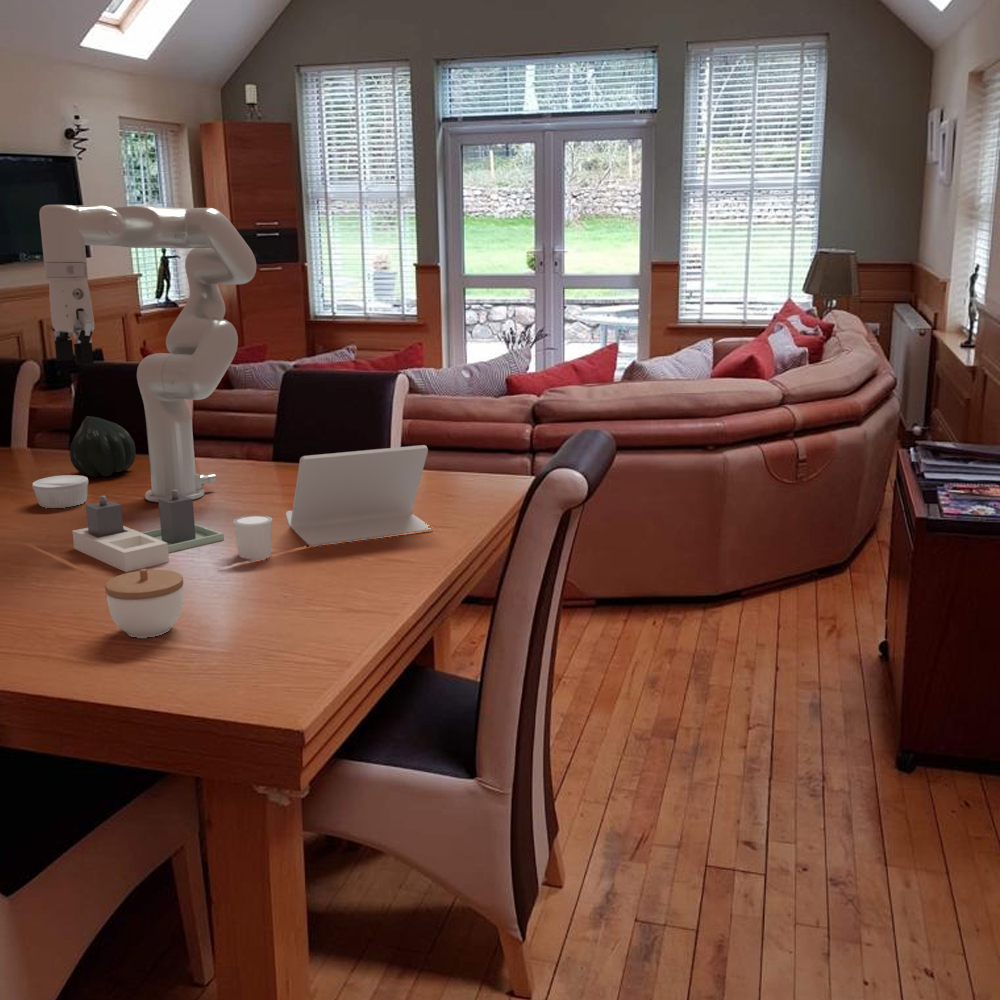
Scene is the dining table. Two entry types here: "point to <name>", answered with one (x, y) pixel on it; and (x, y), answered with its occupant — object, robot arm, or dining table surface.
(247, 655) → the dining table surface
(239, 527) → the white cup
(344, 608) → the dining table surface
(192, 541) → the tray
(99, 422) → the squash
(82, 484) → the ramekin
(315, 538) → the tablet stand
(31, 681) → the dining table surface
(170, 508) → the plug
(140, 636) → the lidded jar
